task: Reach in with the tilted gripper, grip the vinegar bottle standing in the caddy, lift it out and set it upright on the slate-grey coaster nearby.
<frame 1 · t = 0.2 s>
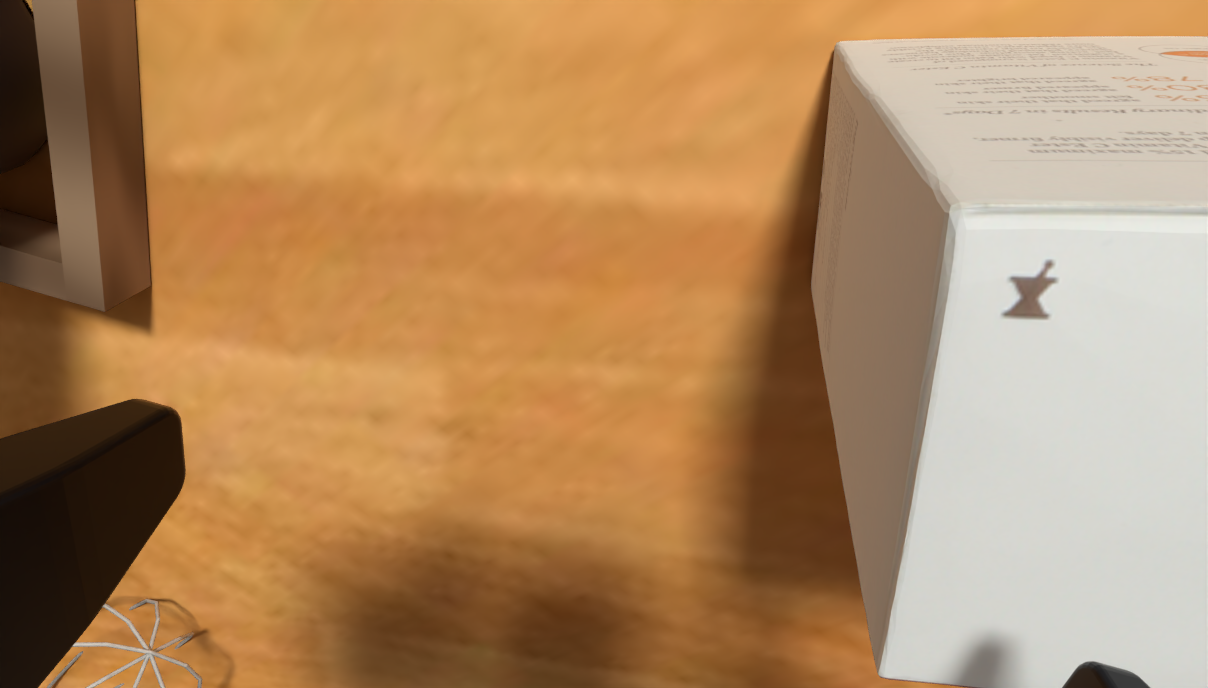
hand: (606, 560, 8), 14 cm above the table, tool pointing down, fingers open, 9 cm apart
small box: (987, 173, 20), on the table
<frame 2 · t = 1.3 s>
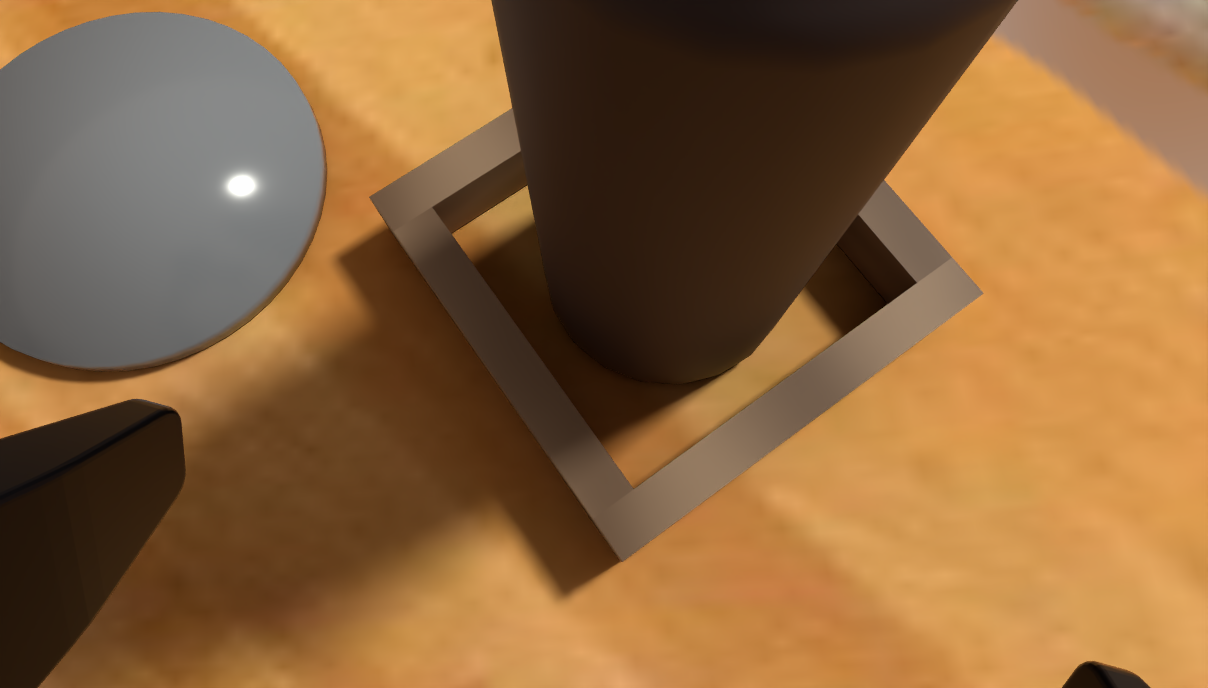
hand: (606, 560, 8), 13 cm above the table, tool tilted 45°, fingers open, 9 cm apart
slate coaster: (137, 187, 23), on the table
vinegar: (665, 273, 23), resting in bottle caddy
bottle caddy: (665, 271, 23), on the table
when the fingers open (11 cm above the table, at t = 9.5 s): vinegar stays where it is, resting on slate coaster.
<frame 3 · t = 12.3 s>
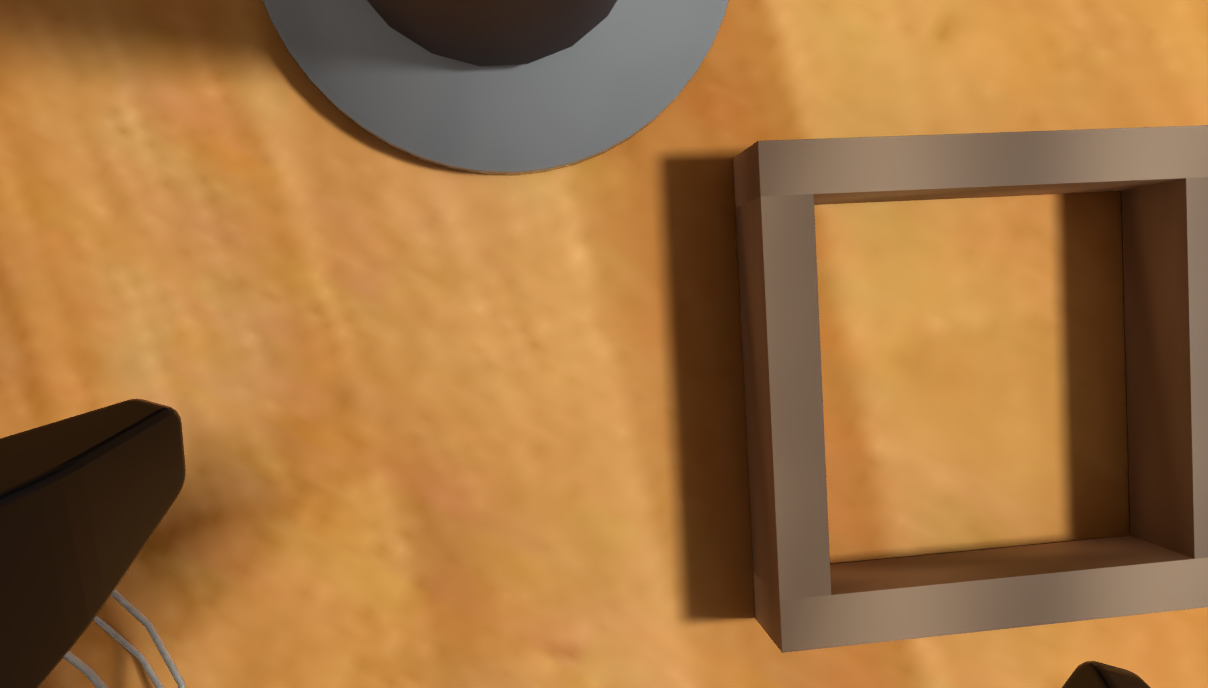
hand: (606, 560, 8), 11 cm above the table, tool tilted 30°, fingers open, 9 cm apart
bottle caddy: (962, 376, 20), on the table
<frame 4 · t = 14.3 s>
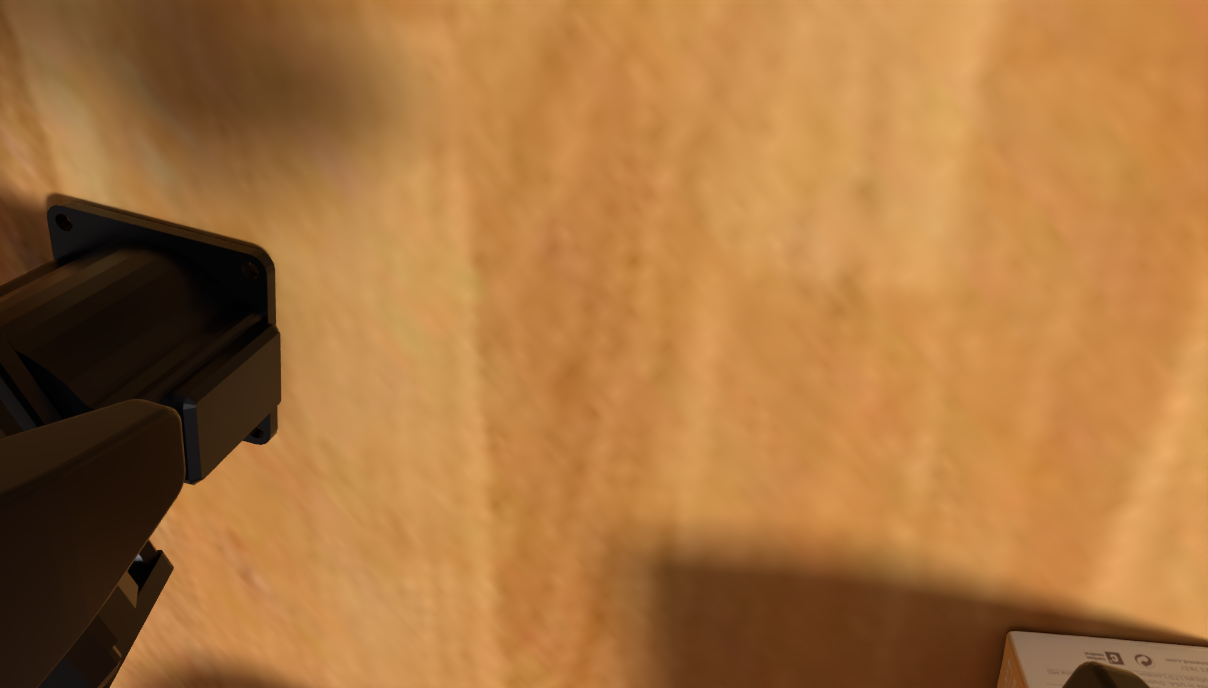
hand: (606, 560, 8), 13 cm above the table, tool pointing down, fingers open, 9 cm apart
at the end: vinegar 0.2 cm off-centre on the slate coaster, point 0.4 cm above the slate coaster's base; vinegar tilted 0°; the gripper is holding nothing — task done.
